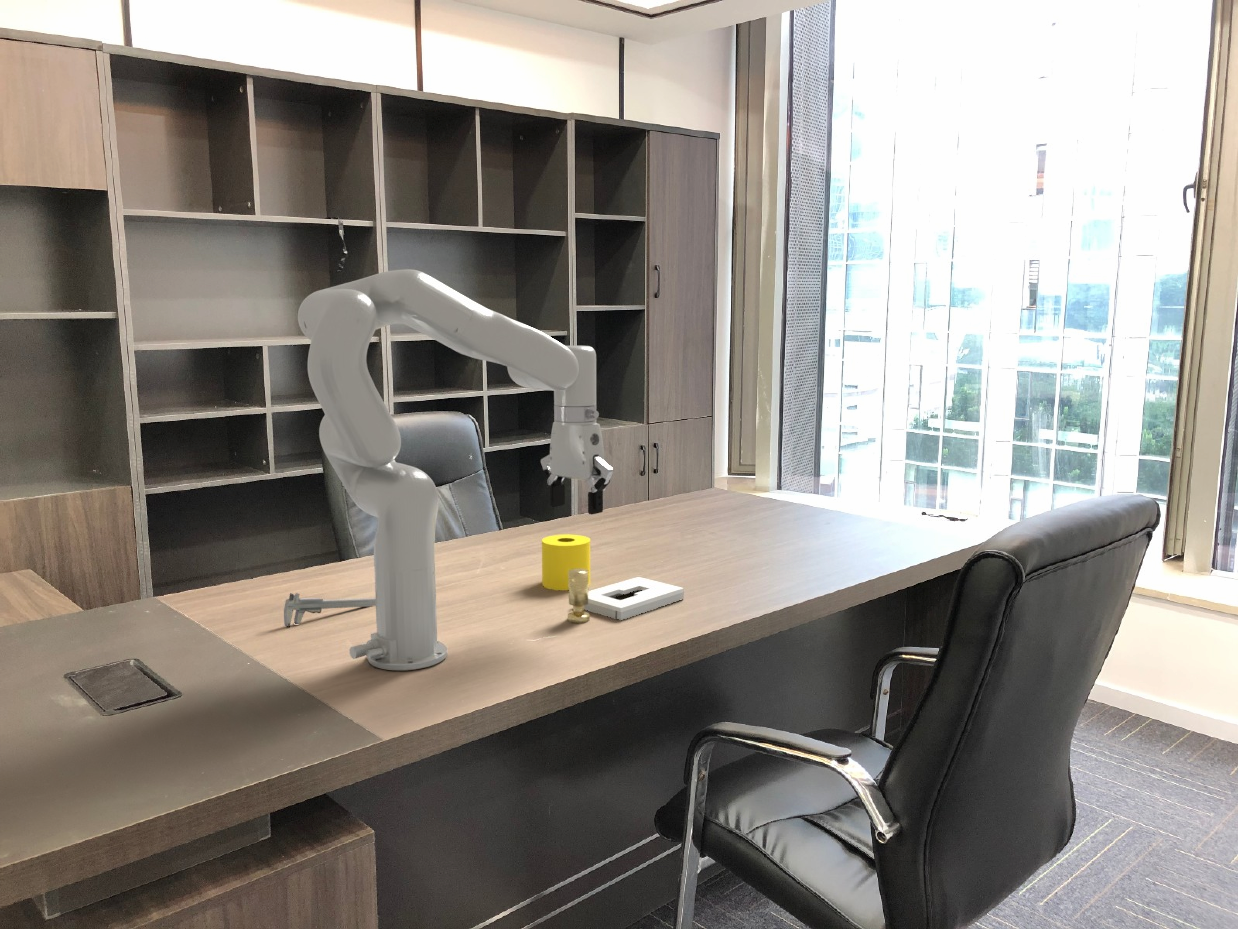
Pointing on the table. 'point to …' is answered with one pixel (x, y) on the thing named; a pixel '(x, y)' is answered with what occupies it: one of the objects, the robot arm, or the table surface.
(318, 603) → the caliper
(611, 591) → the keyhole plate
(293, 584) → the table surface
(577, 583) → the brass peg
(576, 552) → the yellow toilet paper roll
